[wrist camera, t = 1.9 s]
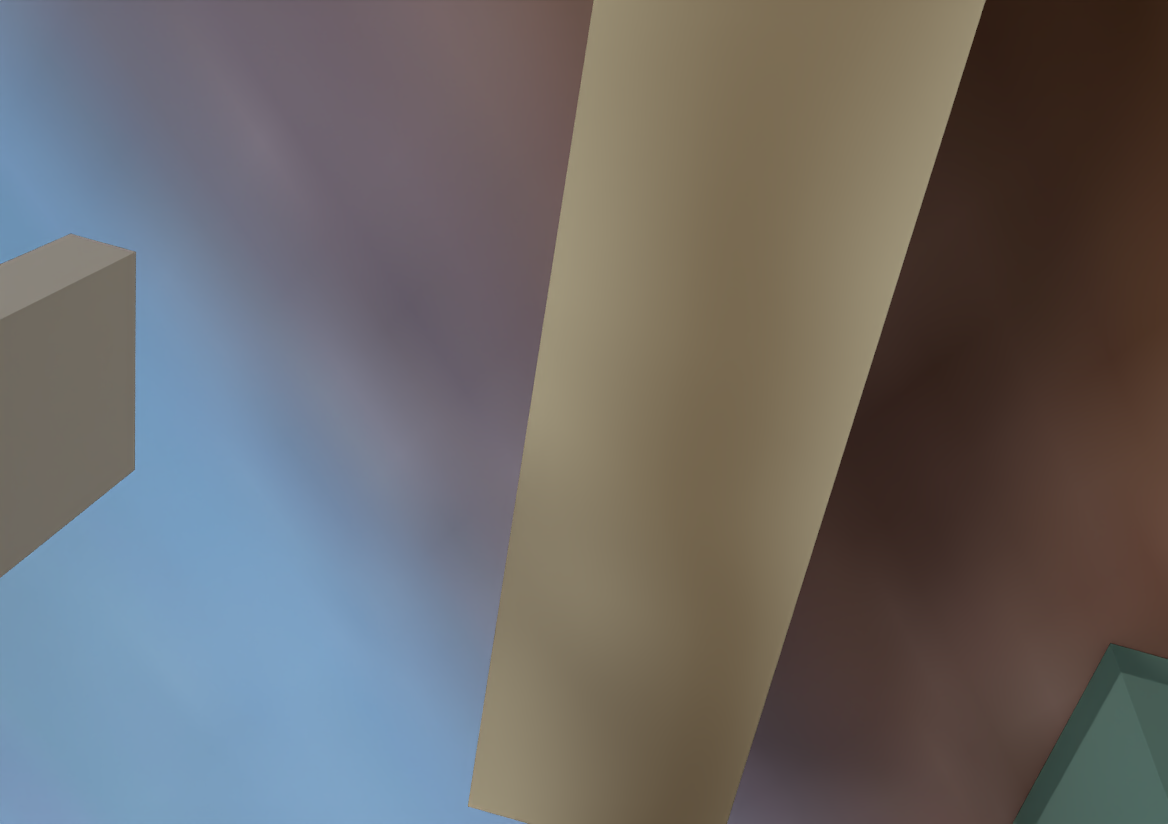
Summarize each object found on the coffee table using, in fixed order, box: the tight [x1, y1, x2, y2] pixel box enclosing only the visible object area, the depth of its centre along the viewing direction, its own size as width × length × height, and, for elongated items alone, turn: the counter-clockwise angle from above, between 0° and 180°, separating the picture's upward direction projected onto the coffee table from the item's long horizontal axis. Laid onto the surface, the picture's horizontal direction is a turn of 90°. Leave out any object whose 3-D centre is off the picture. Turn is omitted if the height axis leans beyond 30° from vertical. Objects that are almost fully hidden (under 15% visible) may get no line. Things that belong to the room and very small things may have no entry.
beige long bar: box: [468, 0, 986, 824], centre depth 16 cm, size 4×16×5 cm, turn 170°
